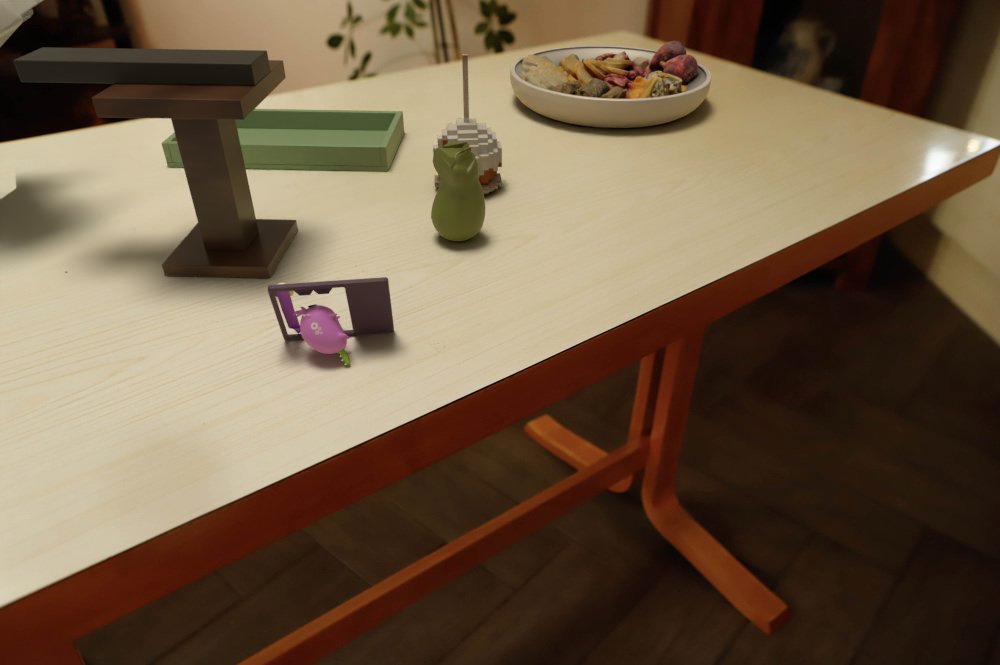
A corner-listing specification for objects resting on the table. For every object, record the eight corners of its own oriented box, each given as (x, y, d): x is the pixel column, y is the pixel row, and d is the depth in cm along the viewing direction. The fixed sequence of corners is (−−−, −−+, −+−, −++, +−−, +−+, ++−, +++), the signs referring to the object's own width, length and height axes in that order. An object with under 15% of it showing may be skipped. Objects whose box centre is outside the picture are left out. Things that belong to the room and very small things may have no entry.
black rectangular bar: (20, 82, 61) (12, 60, 60) (49, 68, 64) (42, 47, 63) (255, 86, 60) (250, 63, 59) (270, 71, 64) (267, 50, 63)
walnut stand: (149, 281, 67) (90, 97, 57) (198, 223, 77) (155, 58, 67) (277, 284, 67) (239, 100, 57) (310, 225, 77) (283, 60, 67)
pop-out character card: (387, 269, 56) (267, 277, 55) (390, 323, 53) (263, 333, 52) (393, 321, 61) (284, 329, 60) (396, 373, 58) (282, 382, 57)
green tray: (167, 167, 90) (161, 143, 88) (208, 129, 101) (203, 107, 99) (388, 171, 89) (385, 147, 87) (404, 133, 100) (402, 111, 98)
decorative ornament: (434, 174, 88) (427, 46, 79) (497, 172, 89) (498, 44, 80) (435, 201, 82) (428, 65, 73) (503, 199, 82) (504, 63, 74)
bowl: (583, 150, 95) (588, 90, 90) (475, 91, 116) (474, 39, 112) (748, 114, 107) (760, 59, 103) (623, 66, 128) (628, 19, 124)
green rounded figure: (494, 242, 74) (494, 147, 68) (449, 255, 71) (445, 158, 66) (466, 221, 78) (464, 130, 72) (423, 233, 75) (417, 140, 69)
